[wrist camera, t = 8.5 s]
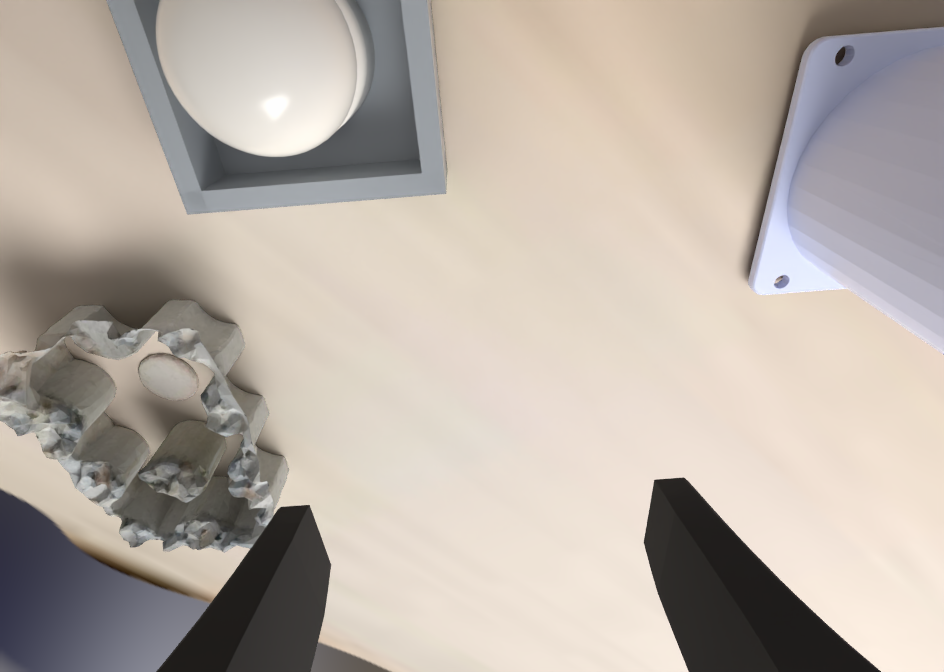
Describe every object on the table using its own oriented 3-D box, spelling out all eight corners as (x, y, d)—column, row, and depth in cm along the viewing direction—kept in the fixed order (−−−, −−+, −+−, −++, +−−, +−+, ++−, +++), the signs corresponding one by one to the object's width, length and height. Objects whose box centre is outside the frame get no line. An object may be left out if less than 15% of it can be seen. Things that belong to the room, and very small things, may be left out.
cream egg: (359, -48, 12) (311, -83, 8) (386, 125, 15) (358, 168, 10) (198, -34, 13) (68, -62, 8) (248, 137, 15) (164, 184, 10)
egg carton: (41, 293, 18) (-57, 356, 15) (252, 290, 18) (205, 352, 15) (141, 496, 24) (87, 577, 20) (302, 492, 24) (277, 572, 21)
